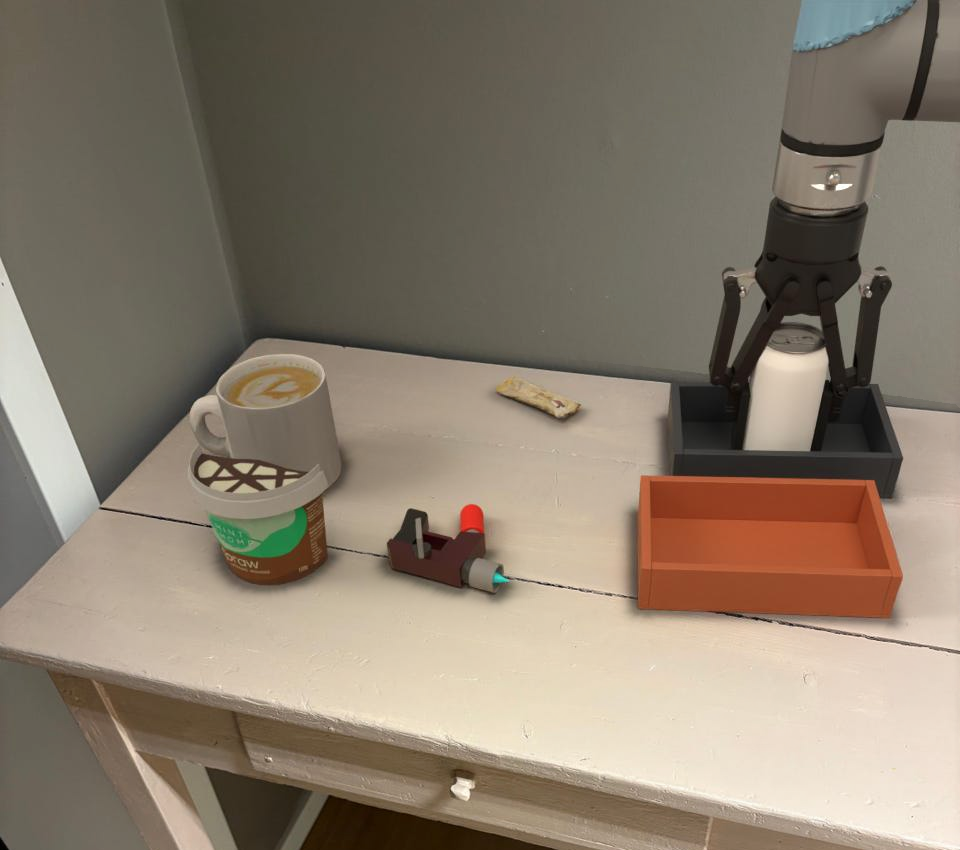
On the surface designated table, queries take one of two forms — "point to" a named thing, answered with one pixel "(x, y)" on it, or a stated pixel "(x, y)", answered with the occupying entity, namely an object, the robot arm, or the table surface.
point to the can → (787, 389)
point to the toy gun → (446, 551)
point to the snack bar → (538, 397)
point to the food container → (262, 515)
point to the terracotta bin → (765, 546)
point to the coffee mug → (273, 415)
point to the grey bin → (844, 455)
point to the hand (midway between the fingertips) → (774, 448)
